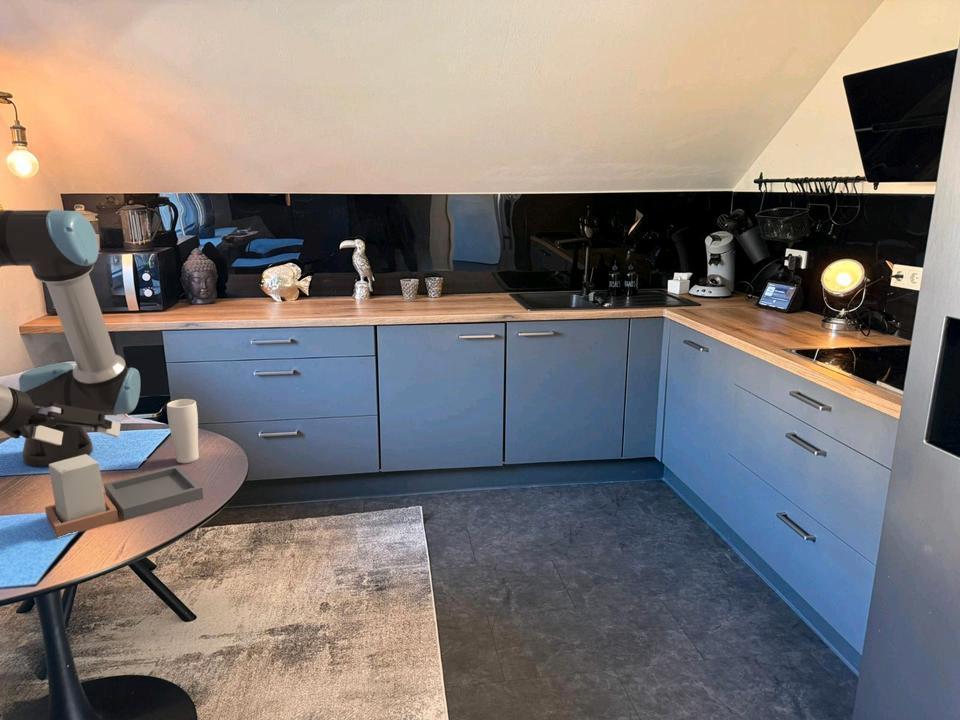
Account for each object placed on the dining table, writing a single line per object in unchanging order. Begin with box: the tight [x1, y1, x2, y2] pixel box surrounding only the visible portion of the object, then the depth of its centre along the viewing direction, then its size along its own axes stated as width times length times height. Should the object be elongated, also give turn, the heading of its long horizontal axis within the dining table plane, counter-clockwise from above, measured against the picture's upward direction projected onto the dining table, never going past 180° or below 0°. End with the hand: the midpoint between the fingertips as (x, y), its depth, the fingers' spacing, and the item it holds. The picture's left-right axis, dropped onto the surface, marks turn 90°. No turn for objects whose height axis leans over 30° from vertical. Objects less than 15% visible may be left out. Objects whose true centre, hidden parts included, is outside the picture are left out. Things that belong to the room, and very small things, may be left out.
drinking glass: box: [166, 398, 200, 464], centre depth 169 cm, size 7×7×15 cm
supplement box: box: [48, 454, 106, 523], centre depth 139 cm, size 7×7×13 cm
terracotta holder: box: [44, 491, 119, 539], centre depth 141 cm, size 11×11×2 cm
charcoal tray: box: [103, 464, 204, 521], centre depth 151 cm, size 16×16×2 cm
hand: (89, 434), depth 138 cm, fingers open, 13 cm apart
